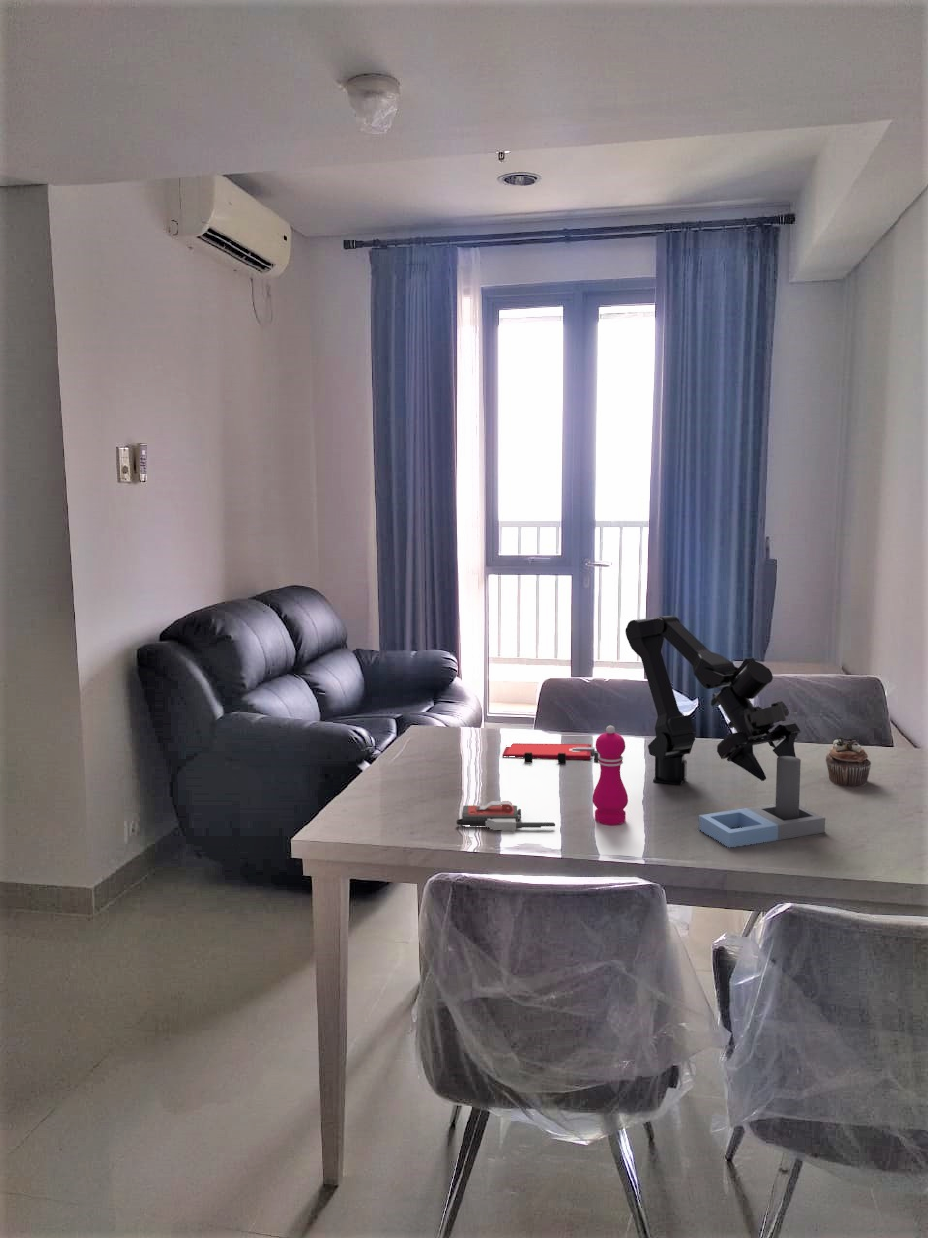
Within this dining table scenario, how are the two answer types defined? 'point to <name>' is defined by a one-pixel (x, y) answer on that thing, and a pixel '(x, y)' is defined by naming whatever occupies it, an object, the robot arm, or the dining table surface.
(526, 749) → the red board with handle
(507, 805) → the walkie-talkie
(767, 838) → the two-hole peg board
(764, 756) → the dining table surface
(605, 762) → the pepper mill
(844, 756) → the cupcake
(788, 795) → the plug
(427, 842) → the dining table surface
